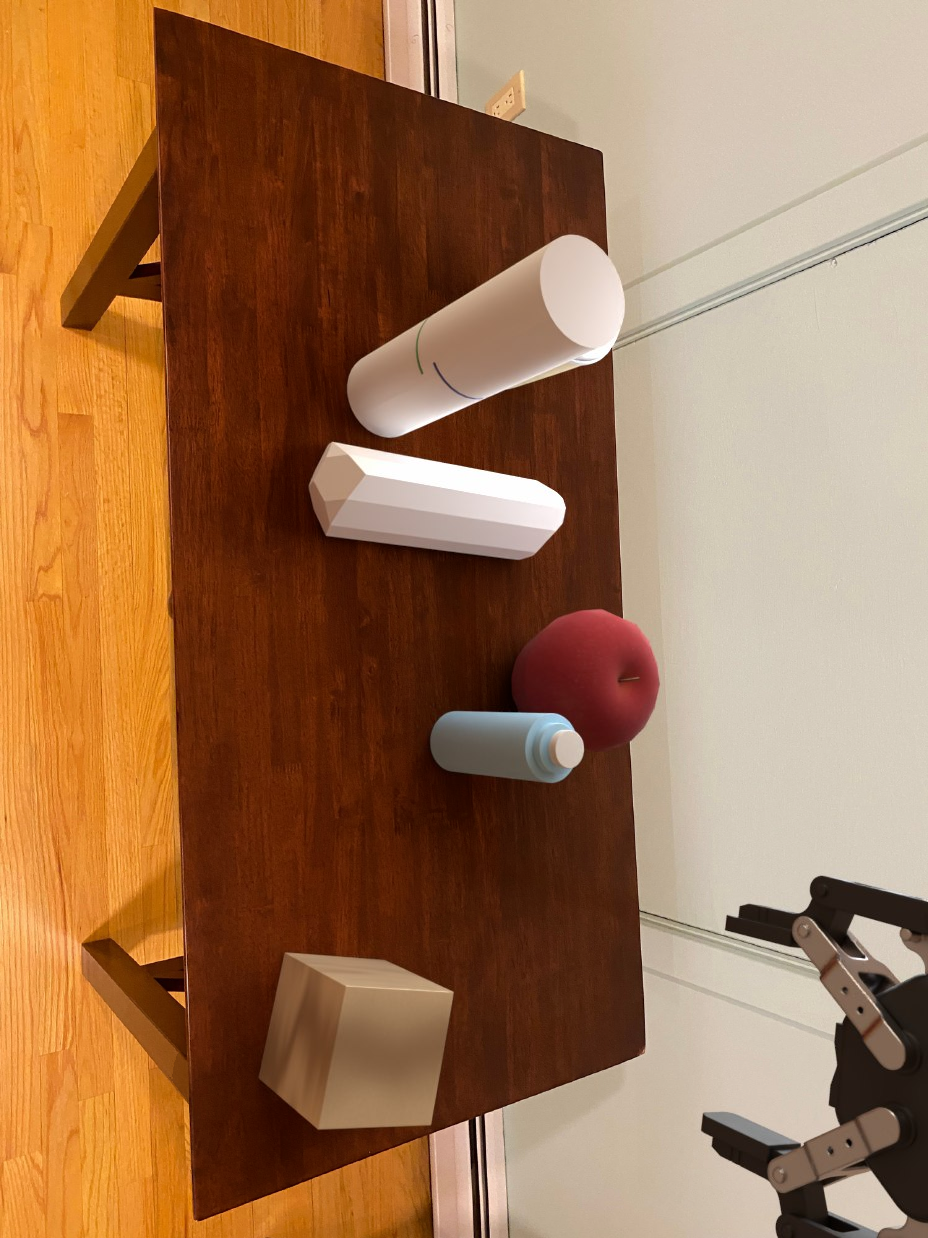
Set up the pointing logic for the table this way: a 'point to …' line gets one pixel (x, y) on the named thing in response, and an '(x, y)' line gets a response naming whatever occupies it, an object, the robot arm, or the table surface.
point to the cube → (356, 1042)
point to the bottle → (507, 745)
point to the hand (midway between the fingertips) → (725, 1020)
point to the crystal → (431, 504)
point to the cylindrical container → (492, 338)
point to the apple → (590, 677)
